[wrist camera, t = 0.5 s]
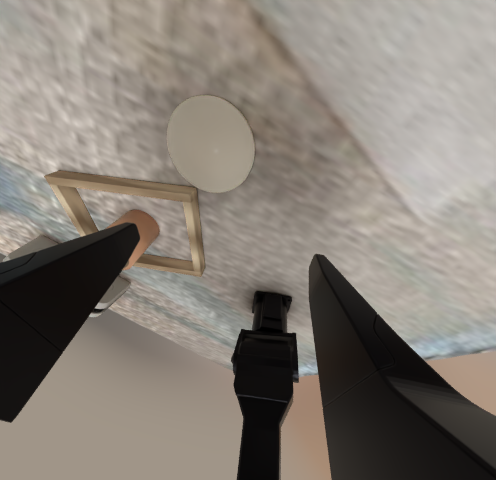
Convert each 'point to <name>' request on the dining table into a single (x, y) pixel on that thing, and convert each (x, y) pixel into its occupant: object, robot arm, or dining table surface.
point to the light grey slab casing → (43, 242)
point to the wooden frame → (77, 212)
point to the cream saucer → (210, 143)
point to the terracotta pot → (146, 230)
